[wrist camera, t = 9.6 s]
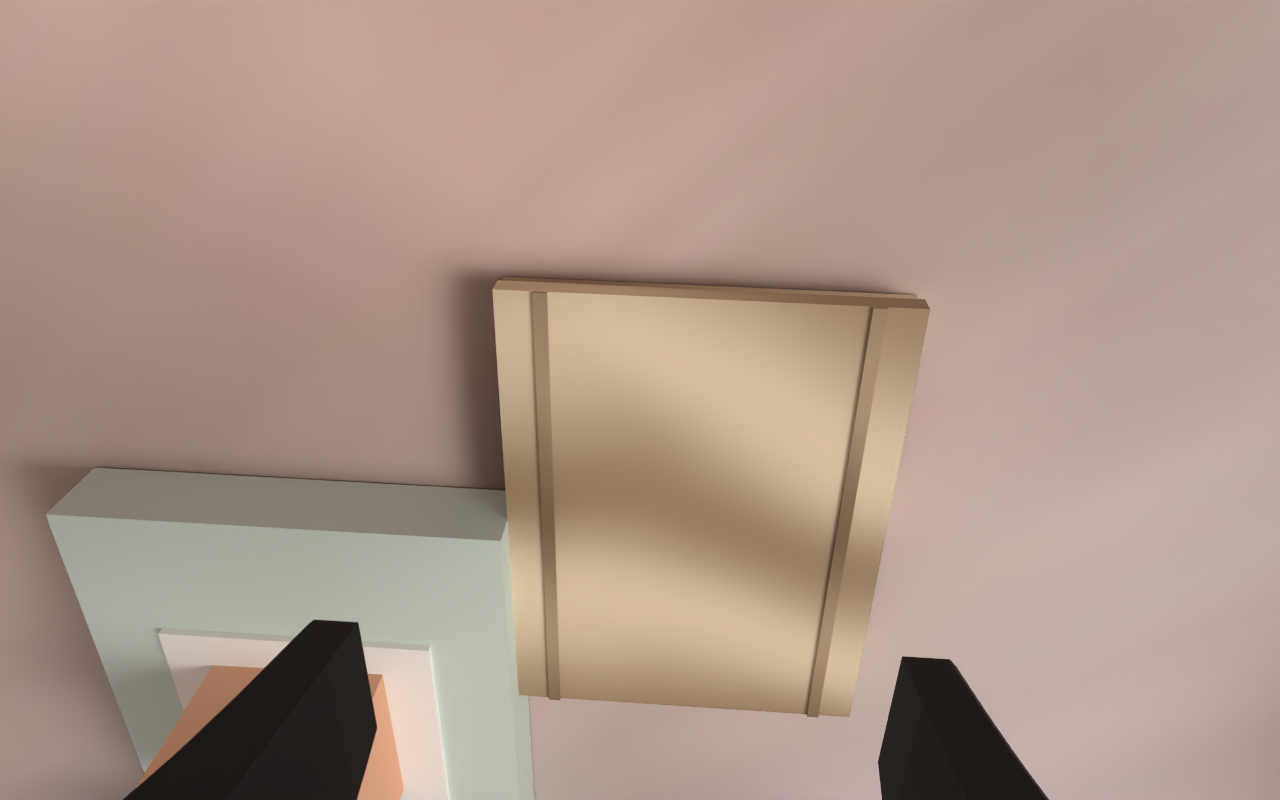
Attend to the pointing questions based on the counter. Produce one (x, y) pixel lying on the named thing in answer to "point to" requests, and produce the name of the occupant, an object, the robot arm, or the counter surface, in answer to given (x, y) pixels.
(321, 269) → the counter surface
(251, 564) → the dock
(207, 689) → the orange block
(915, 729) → the robot arm
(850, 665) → the pallet
